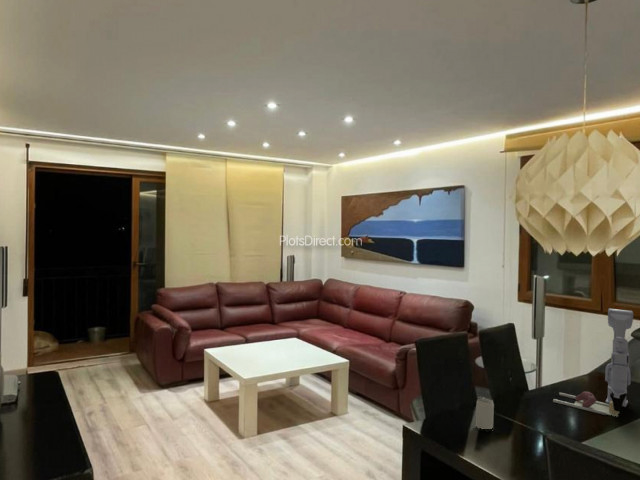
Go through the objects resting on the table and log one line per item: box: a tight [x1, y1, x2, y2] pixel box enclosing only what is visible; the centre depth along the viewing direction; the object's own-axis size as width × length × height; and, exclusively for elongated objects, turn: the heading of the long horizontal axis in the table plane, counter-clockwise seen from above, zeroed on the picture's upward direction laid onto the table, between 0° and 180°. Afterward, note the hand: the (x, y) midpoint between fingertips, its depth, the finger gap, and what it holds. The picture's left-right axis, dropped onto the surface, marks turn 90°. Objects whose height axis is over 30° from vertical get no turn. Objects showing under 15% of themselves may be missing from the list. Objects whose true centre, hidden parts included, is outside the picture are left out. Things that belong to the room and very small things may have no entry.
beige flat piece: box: [573, 400, 620, 418], centre depth 199 cm, size 10×17×4 cm, turn 50°
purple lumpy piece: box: [574, 390, 597, 407], centre depth 202 cm, size 10×5×7 cm, turn 169°
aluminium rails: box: [552, 392, 609, 416], centre depth 203 cm, size 13×21×1 cm, turn 50°
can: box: [475, 396, 495, 429], centre depth 173 cm, size 6×6×12 cm
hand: (617, 409), depth 194 cm, fingers open, 3 cm apart
